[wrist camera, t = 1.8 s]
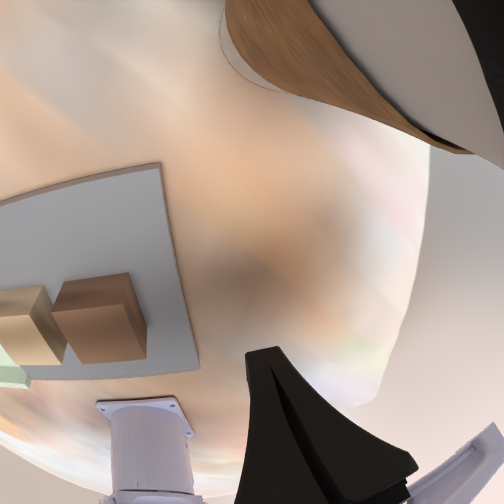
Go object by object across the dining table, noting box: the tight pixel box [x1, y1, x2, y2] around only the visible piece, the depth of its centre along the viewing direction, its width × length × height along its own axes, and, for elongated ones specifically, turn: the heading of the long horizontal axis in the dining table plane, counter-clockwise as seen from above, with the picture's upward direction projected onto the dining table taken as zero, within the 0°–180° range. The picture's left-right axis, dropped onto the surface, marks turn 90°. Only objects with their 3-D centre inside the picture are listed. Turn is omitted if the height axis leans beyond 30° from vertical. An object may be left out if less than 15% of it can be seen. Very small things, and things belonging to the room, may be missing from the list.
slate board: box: [0, 162, 200, 380], centre depth 14 cm, size 14×15×1 cm
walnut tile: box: [51, 272, 147, 364], centre depth 13 cm, size 4×4×2 cm
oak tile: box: [0, 285, 68, 365], centre depth 12 cm, size 4×4×2 cm
